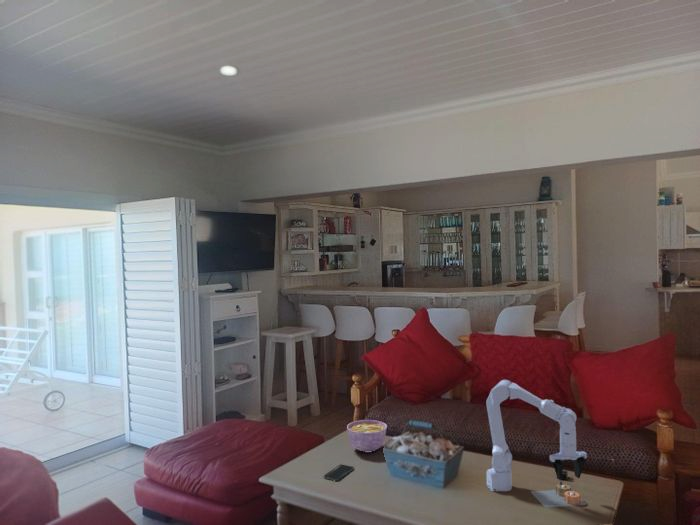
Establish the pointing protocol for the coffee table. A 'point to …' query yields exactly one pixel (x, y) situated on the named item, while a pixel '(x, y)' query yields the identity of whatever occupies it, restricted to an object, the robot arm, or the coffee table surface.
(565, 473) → the black piece
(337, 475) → the phone
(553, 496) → the gear board
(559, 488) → the gear
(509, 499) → the coffee table surface
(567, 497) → the gear
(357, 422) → the bowl of food
